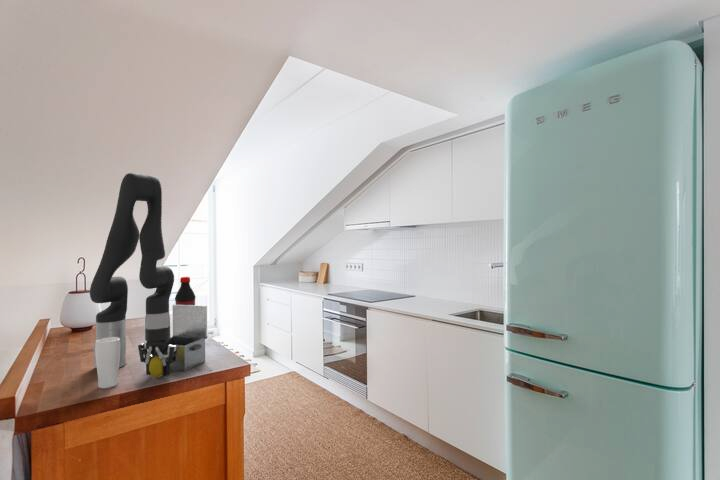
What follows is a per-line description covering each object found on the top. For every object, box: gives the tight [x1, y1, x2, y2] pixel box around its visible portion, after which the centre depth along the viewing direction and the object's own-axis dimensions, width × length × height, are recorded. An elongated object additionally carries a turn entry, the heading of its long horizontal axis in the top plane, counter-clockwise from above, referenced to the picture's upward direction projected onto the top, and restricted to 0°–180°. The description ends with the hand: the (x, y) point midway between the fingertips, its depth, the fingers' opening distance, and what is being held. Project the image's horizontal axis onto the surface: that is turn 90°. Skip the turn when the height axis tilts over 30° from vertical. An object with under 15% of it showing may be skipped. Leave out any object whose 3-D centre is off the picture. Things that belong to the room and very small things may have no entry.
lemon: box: [149, 356, 163, 379], centre depth 128 cm, size 6×6×8 cm
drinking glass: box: [94, 337, 120, 390], centre depth 121 cm, size 7×7×15 cm
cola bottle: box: [174, 276, 196, 305], centre depth 172 cm, size 8×8×30 cm
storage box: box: [163, 335, 206, 373], centre depth 141 cm, size 16×12×9 cm
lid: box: [172, 304, 208, 340], centre depth 148 cm, size 15×13×2 cm
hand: (158, 374), depth 128 cm, fingers closed on lemon, 5 cm apart
